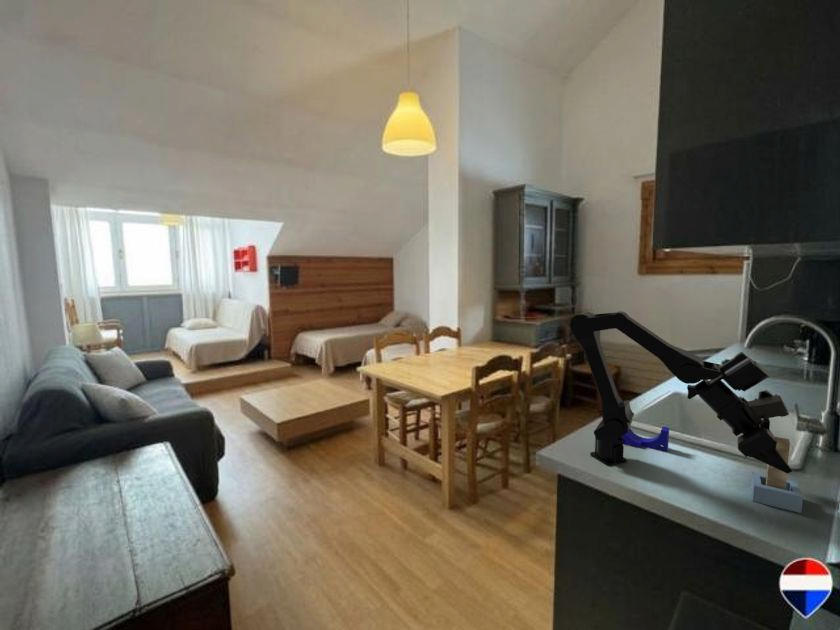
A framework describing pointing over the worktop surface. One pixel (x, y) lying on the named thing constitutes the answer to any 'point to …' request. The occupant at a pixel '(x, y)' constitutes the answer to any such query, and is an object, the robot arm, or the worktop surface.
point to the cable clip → (648, 440)
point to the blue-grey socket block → (776, 493)
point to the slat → (775, 475)
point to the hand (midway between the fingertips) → (786, 463)
